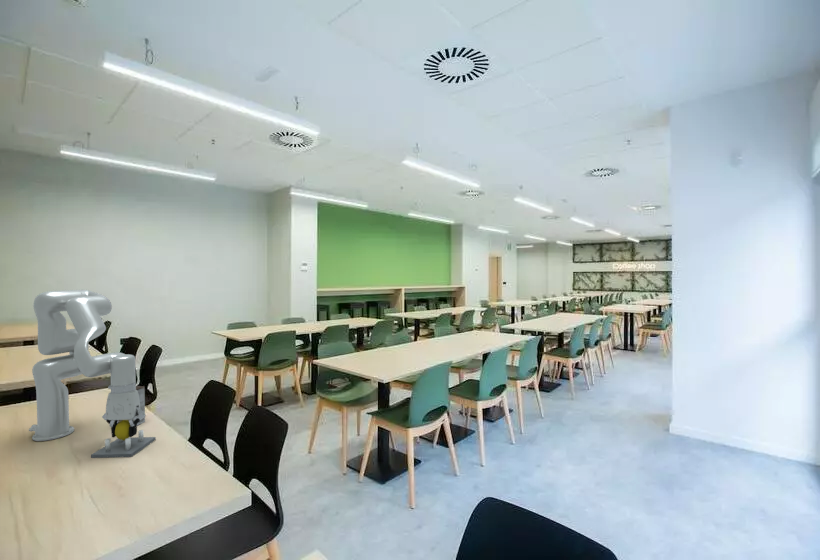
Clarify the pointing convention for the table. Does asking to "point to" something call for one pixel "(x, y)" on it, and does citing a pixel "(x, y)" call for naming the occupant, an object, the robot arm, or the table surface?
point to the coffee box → (141, 401)
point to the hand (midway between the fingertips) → (124, 435)
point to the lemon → (122, 430)
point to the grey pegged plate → (123, 446)
